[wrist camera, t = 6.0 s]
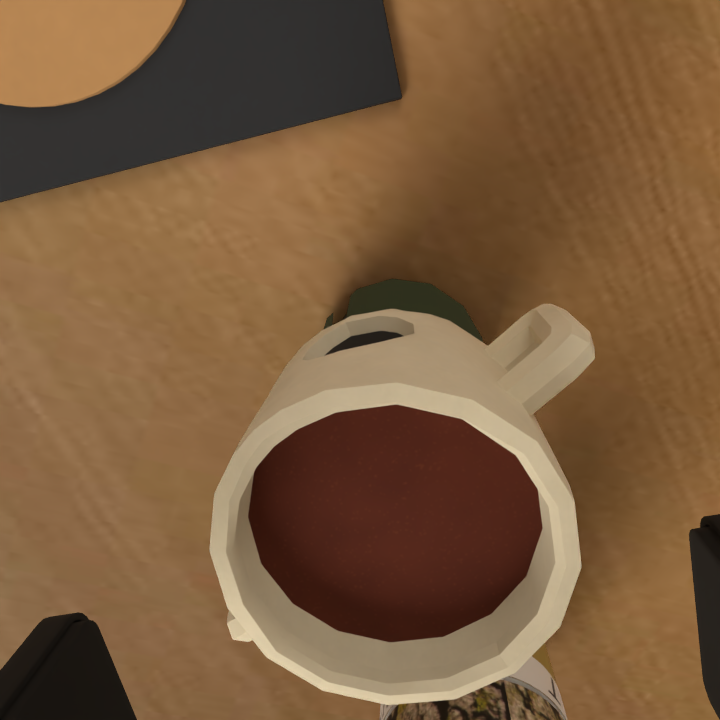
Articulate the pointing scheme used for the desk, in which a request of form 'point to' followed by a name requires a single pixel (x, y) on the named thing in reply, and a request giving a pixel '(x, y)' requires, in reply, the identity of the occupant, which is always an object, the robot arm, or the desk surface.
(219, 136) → the desk mat
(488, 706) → the paper tube
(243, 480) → the character mug
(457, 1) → the desk surface
